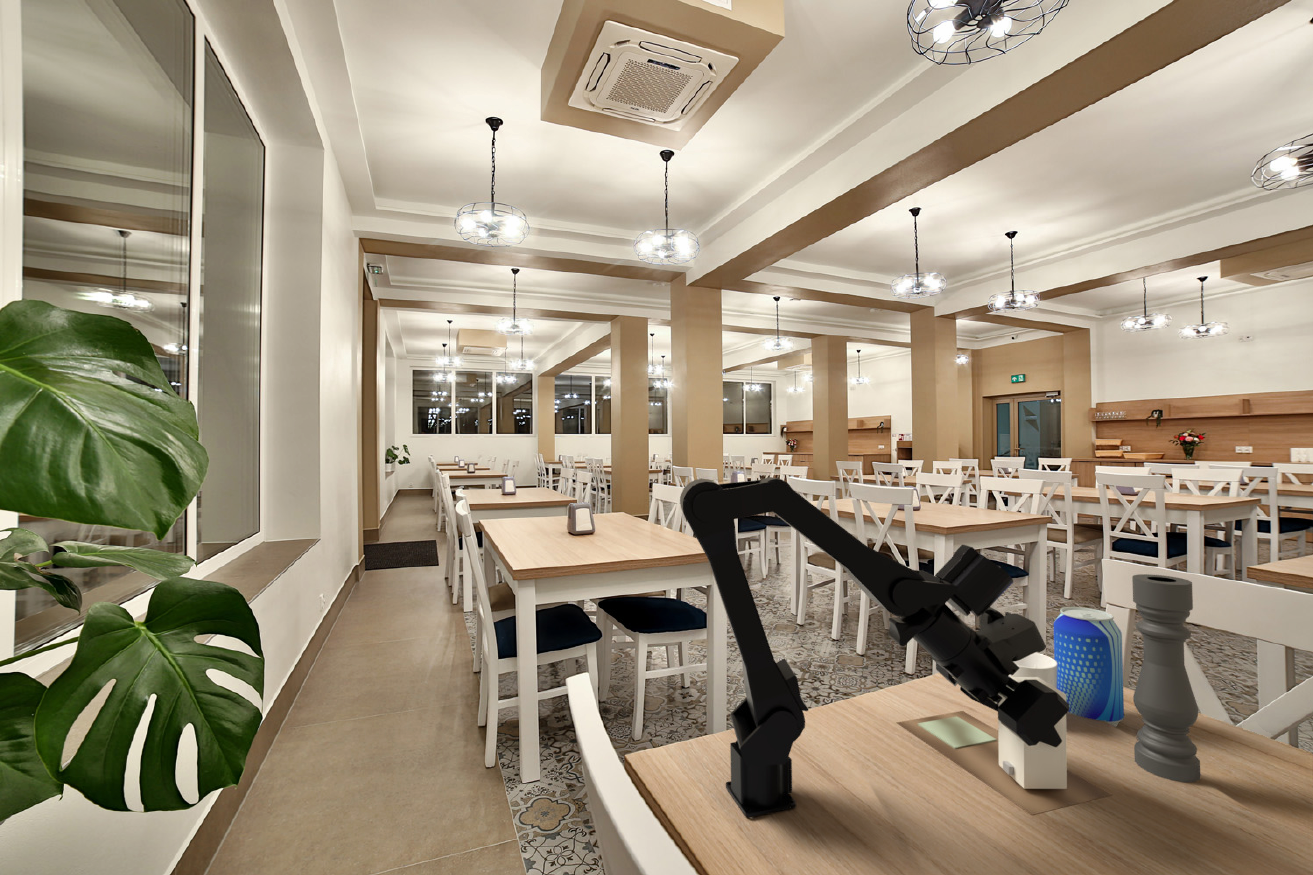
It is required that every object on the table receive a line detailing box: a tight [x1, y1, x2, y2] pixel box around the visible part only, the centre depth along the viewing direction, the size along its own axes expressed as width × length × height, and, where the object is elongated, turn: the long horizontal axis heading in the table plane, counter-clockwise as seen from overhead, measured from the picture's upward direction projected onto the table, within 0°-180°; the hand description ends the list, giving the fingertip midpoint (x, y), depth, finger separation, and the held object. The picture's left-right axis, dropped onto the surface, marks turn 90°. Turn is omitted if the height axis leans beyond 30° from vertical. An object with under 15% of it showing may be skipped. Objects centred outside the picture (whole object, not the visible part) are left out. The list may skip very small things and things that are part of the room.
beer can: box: [1053, 606, 1125, 727], centre depth 88 cm, size 8×8×16 cm
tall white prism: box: [997, 677, 1068, 789], centre depth 70 cm, size 6×5×11 cm
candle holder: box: [1132, 573, 1201, 783], centre depth 72 cm, size 6×6×25 cm
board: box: [896, 710, 1113, 816], centre depth 75 cm, size 12×22×6 cm, turn 16°
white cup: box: [1009, 652, 1058, 688], centre depth 86 cm, size 8×8×10 cm
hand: (1043, 732), depth 70 cm, fingers closed on tall white prism, 5 cm apart
